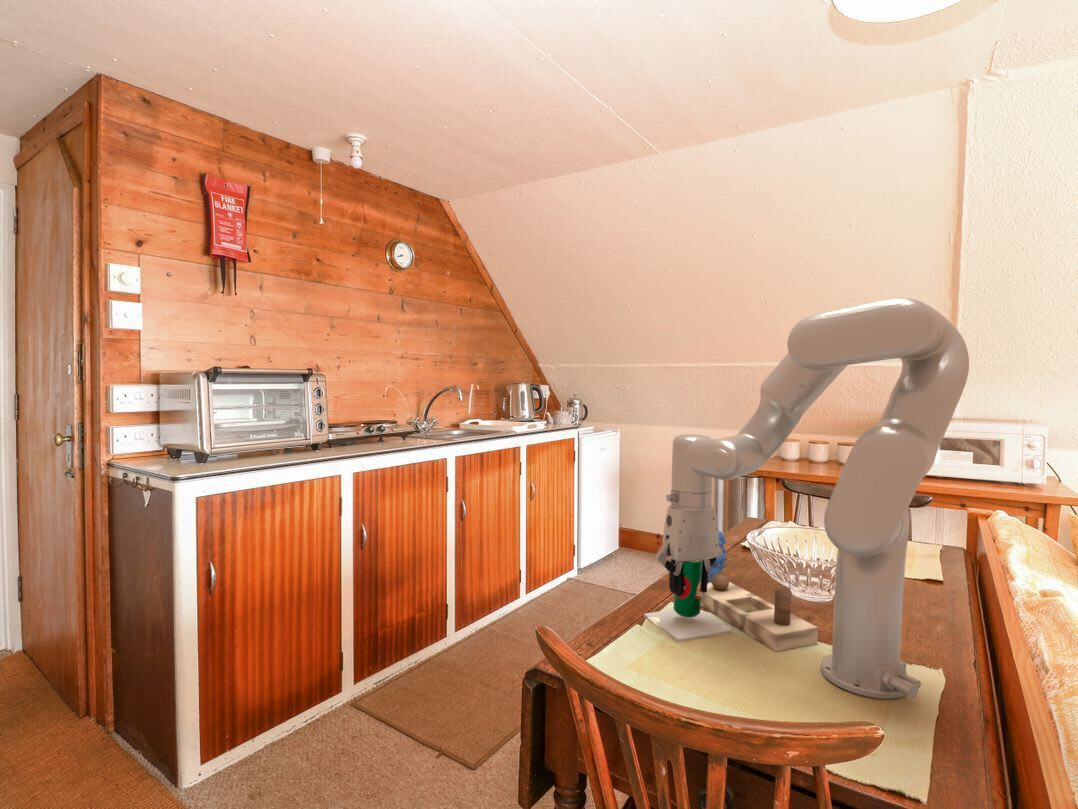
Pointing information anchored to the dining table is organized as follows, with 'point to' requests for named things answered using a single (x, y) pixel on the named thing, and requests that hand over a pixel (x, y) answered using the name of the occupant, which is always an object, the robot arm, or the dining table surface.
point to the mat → (689, 625)
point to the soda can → (690, 589)
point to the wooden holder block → (759, 614)
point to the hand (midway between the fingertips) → (688, 590)
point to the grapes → (718, 559)
